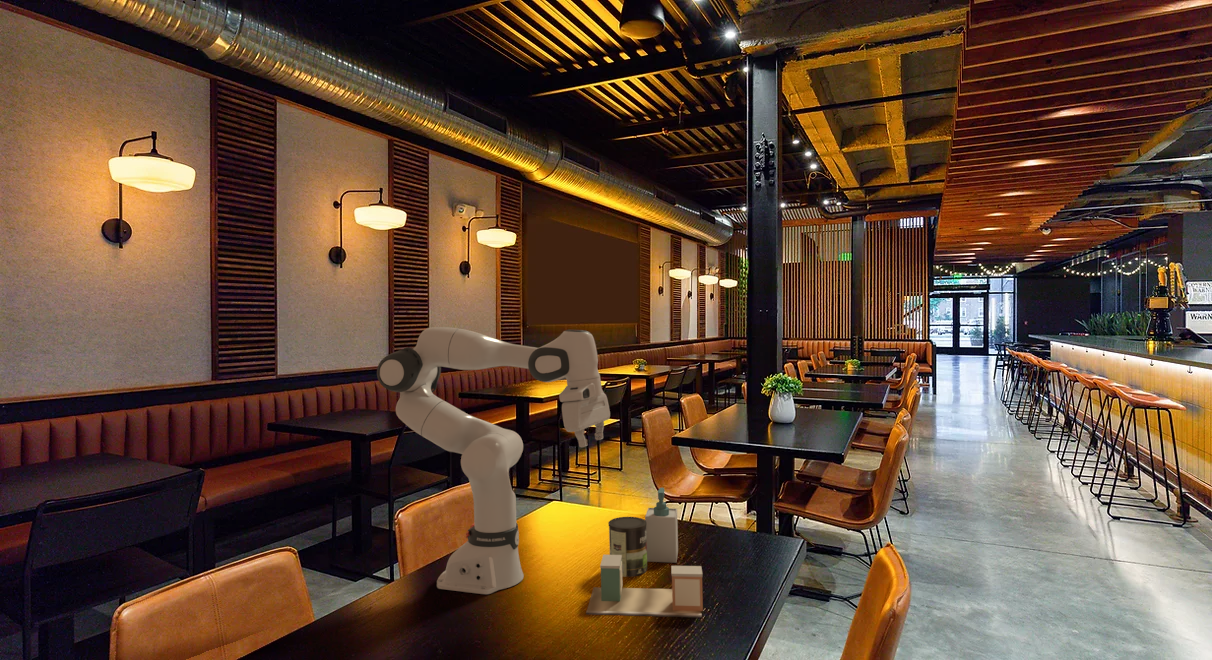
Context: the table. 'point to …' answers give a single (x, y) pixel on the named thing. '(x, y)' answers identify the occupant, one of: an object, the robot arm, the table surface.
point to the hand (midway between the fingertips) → (591, 443)
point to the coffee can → (629, 544)
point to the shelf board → (638, 603)
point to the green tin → (611, 577)
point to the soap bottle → (661, 532)
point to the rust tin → (687, 588)
